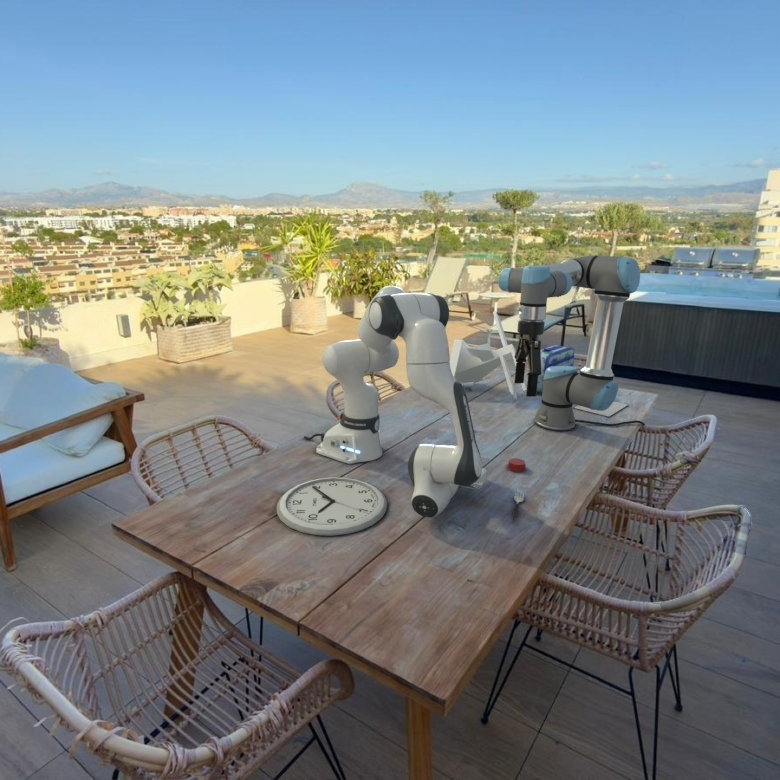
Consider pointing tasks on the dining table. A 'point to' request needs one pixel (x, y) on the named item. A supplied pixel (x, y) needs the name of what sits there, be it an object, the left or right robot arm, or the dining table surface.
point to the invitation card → (608, 412)
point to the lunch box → (554, 360)
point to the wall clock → (331, 506)
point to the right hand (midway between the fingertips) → (524, 389)
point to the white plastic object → (482, 360)
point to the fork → (517, 499)
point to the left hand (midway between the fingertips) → (458, 461)
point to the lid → (516, 465)
